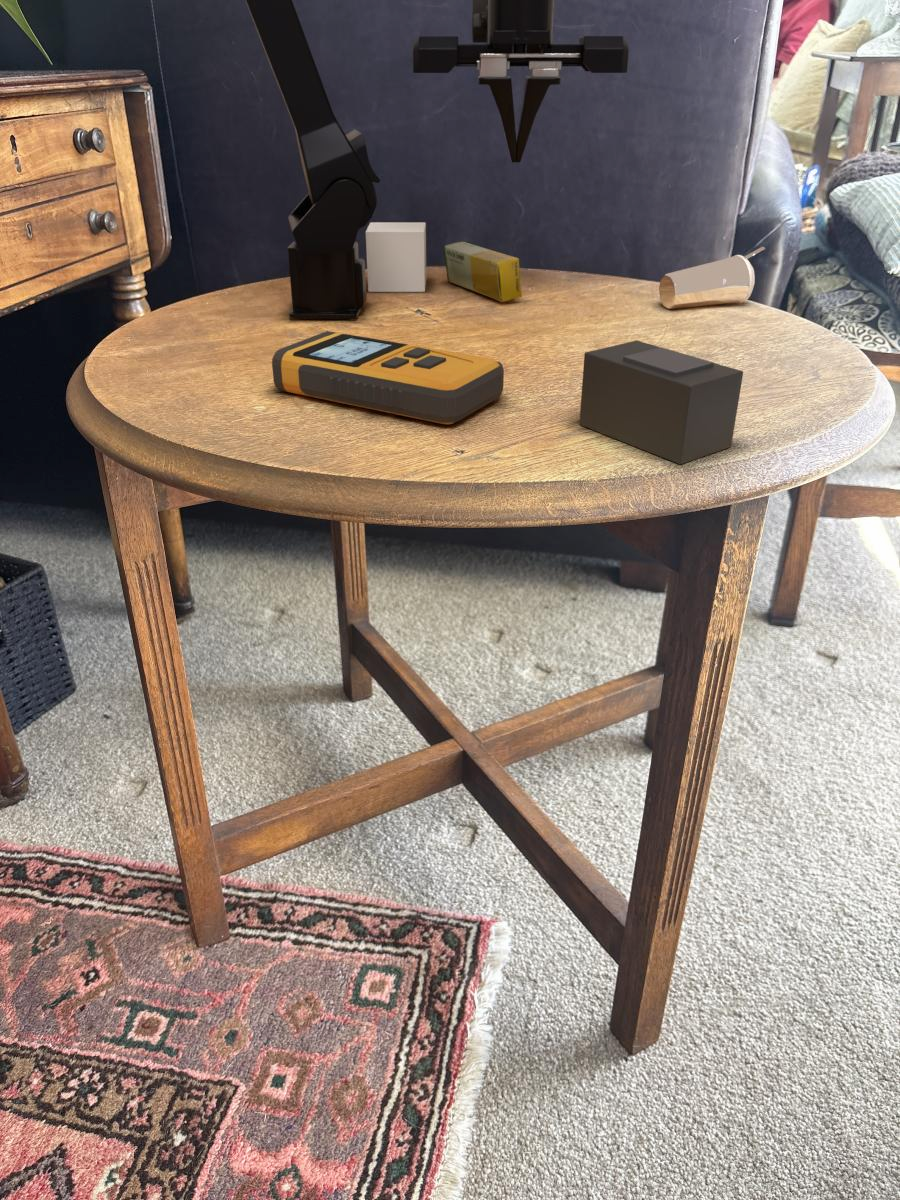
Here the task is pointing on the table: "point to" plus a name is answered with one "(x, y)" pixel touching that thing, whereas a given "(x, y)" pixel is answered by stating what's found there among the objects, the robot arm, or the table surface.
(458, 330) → the table surface
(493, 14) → the robot arm
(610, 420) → the block
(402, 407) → the electronic device
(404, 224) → the white cube
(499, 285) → the medication box
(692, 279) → the milkshake
